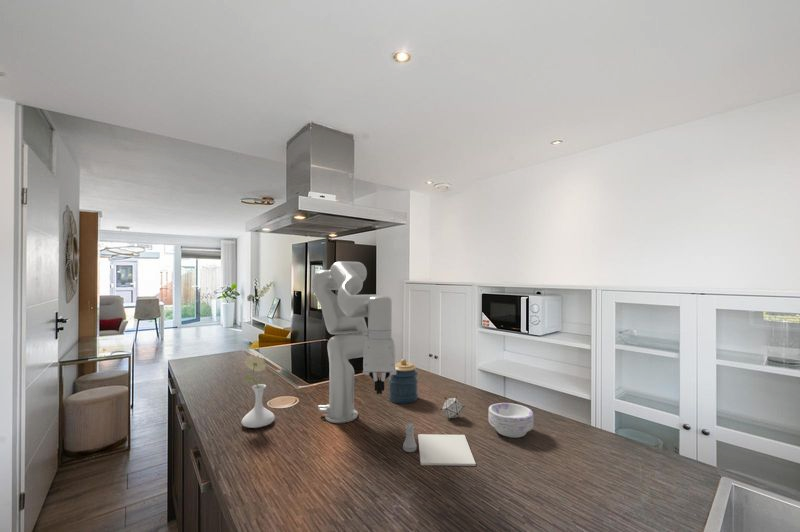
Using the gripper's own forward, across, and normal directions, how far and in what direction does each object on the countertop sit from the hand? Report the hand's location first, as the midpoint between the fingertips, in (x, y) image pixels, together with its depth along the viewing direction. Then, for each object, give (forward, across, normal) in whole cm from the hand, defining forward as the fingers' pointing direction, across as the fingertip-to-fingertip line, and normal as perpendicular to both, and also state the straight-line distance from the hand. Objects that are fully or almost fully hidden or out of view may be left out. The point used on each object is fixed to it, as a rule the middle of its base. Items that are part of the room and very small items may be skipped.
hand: (379, 392), depth 110 cm
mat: (+18, +21, 0) cm, 27 cm away
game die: (+18, +27, +24) cm, 40 cm away
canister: (+18, +8, +44) cm, 48 cm away
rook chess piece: (+18, +10, 0) cm, 21 cm away
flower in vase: (+17, -46, +18) cm, 52 cm away
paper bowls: (+18, +46, +14) cm, 51 cm away
